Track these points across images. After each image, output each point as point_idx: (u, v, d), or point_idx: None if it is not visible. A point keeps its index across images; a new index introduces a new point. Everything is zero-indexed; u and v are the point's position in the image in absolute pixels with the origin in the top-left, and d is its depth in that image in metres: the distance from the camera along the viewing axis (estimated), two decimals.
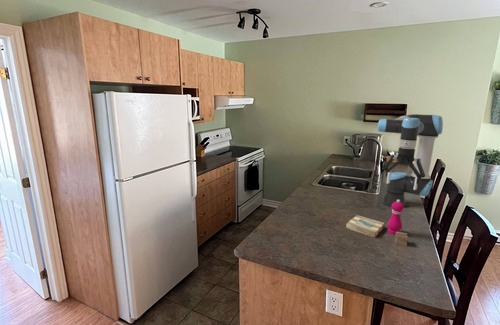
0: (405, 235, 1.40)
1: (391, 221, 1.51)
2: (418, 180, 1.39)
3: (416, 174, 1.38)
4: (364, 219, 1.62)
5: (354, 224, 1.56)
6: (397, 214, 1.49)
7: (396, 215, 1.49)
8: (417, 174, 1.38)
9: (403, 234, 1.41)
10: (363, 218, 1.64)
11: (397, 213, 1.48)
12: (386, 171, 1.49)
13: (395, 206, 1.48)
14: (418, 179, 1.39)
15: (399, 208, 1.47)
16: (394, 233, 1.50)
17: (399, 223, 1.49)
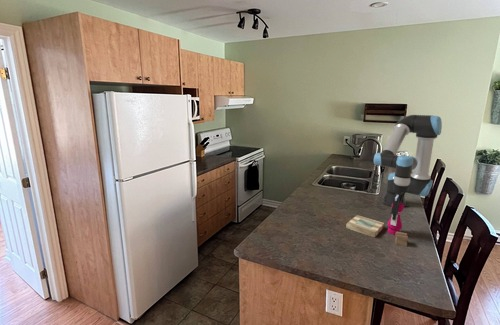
0: (405, 235, 1.40)
1: None
2: (392, 216, 1.48)
3: None
4: (364, 219, 1.62)
5: (354, 224, 1.56)
6: (397, 214, 1.49)
7: None
8: None
9: (403, 234, 1.41)
10: (363, 218, 1.64)
11: (397, 213, 1.48)
12: None
13: None
14: None
15: (399, 208, 1.47)
16: (394, 233, 1.50)
17: (399, 223, 1.49)
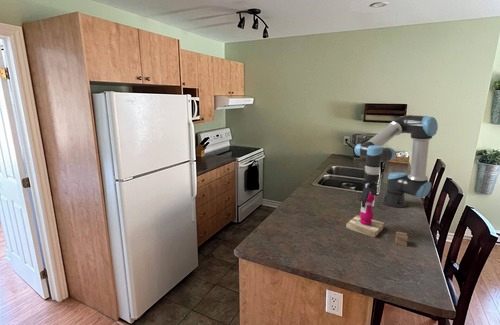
0: (405, 235, 1.40)
1: None
2: None
3: None
4: None
5: (354, 224, 1.56)
6: (368, 205, 1.53)
7: (367, 206, 1.53)
8: None
9: (403, 234, 1.41)
10: None
11: (368, 204, 1.53)
12: None
13: None
14: None
15: (369, 199, 1.51)
16: (365, 223, 1.55)
17: (370, 214, 1.53)
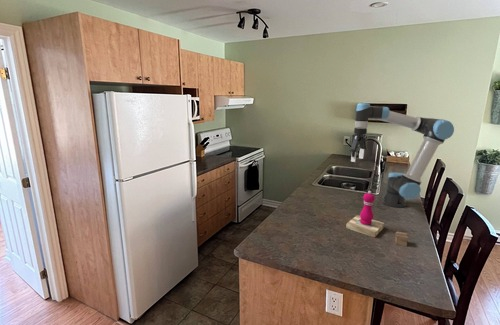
0: (405, 235, 1.40)
1: (363, 212, 1.55)
2: None
3: None
4: None
5: (354, 224, 1.56)
6: (368, 205, 1.53)
7: (367, 206, 1.53)
8: None
9: (403, 234, 1.41)
10: None
11: (368, 204, 1.53)
12: (361, 148, 1.82)
13: (366, 197, 1.52)
14: None
15: (370, 199, 1.51)
16: (365, 223, 1.55)
17: (370, 214, 1.53)
